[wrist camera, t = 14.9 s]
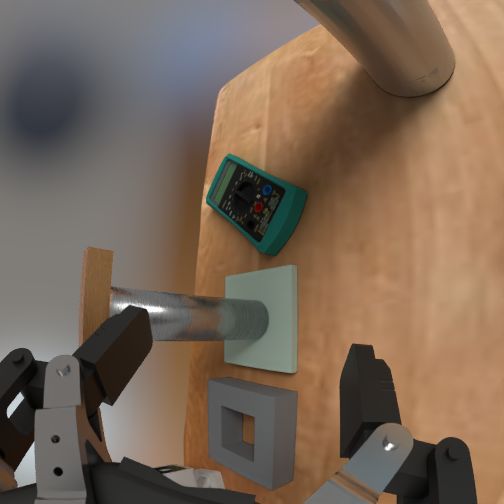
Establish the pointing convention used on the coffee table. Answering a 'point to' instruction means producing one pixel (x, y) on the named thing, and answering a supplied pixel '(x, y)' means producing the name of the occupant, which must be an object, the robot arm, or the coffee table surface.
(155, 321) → the t key
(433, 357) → the coffee table surface
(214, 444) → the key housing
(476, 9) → the coffee table surface
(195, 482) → the security camera
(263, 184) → the digital multimeter
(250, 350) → the pad
